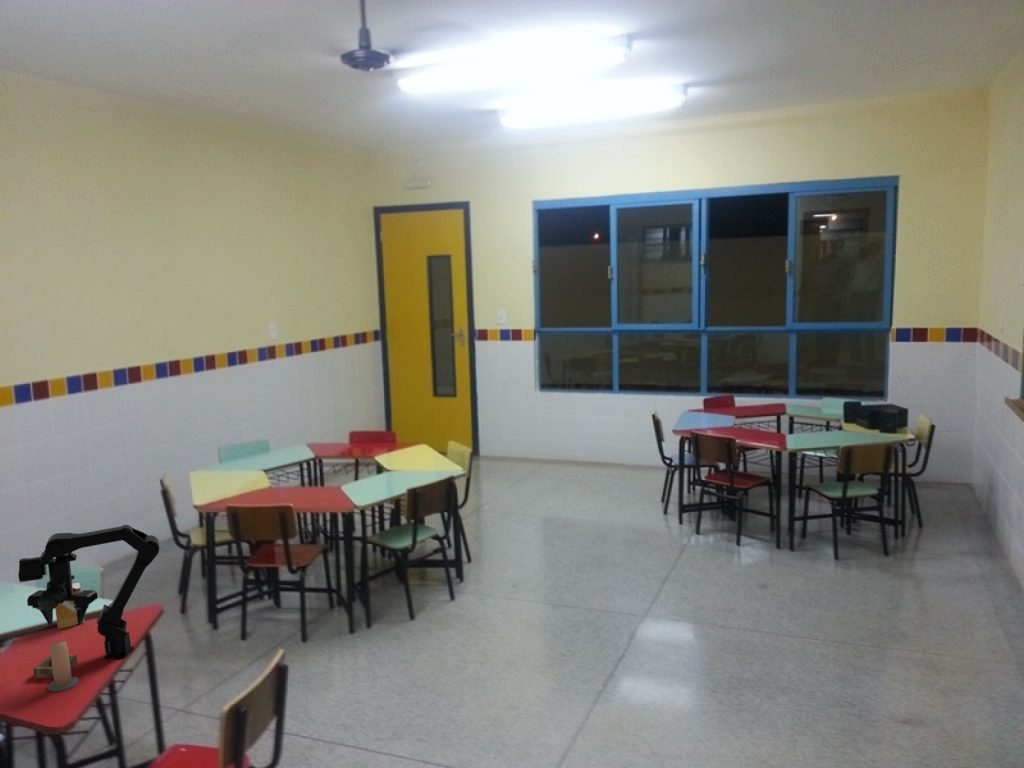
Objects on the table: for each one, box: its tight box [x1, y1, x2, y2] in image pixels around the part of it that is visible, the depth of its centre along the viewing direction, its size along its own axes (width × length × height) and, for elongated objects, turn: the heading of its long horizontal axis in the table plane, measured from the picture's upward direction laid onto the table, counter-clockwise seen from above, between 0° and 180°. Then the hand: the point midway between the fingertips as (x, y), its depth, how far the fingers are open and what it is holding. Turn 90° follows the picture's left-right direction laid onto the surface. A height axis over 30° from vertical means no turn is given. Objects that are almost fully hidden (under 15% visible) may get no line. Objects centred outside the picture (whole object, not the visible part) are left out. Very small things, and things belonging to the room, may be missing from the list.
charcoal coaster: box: [47, 675, 79, 693], centre depth 221 cm, size 8×8×1 cm
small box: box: [54, 582, 85, 630], centre depth 261 cm, size 8×6×13 cm
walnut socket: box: [32, 654, 79, 679], centre depth 229 cm, size 8×8×3 cm
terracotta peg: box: [49, 640, 73, 687], centre depth 220 cm, size 4×4×12 cm
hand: (65, 624), depth 231 cm, fingers open, 9 cm apart
